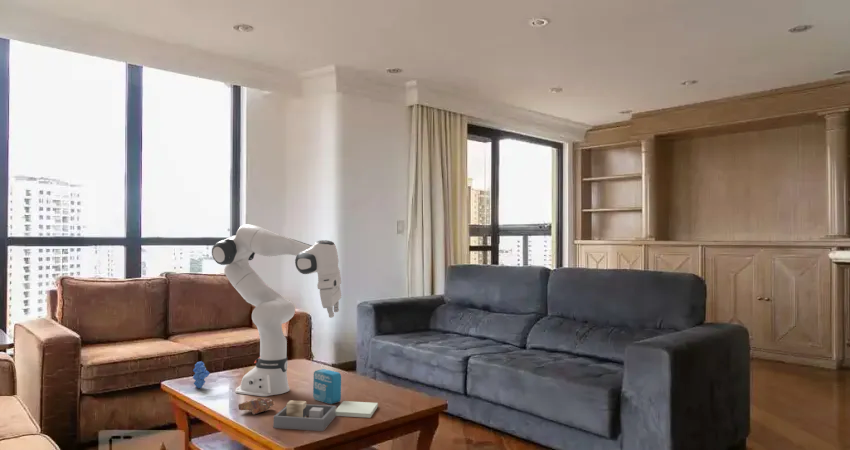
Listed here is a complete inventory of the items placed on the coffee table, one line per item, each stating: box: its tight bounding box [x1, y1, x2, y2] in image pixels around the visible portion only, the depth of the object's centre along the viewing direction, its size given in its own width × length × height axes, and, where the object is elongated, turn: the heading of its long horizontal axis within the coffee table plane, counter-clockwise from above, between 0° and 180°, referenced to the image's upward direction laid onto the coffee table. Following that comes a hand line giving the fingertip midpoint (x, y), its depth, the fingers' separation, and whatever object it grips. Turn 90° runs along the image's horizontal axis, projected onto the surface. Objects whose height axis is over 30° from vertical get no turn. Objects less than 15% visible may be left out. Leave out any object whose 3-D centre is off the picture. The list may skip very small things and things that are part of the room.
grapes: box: [192, 360, 211, 389], centre depth 253 cm, size 12×7×12 cm, turn 37°
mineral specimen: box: [238, 397, 275, 415], centre depth 221 cm, size 12×8×7 cm
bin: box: [272, 403, 337, 432], centre depth 211 cm, size 18×16×4 cm
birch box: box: [286, 399, 307, 417], centre depth 211 cm, size 6×4×7 cm, turn 83°
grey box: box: [308, 407, 323, 418], centre depth 211 cm, size 4×4×5 cm
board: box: [336, 400, 379, 419], centre depth 225 cm, size 14×14×2 cm
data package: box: [312, 368, 342, 405], centre depth 238 cm, size 12×4×12 cm, turn 51°
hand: (334, 314), depth 234 cm, fingers open, 8 cm apart
